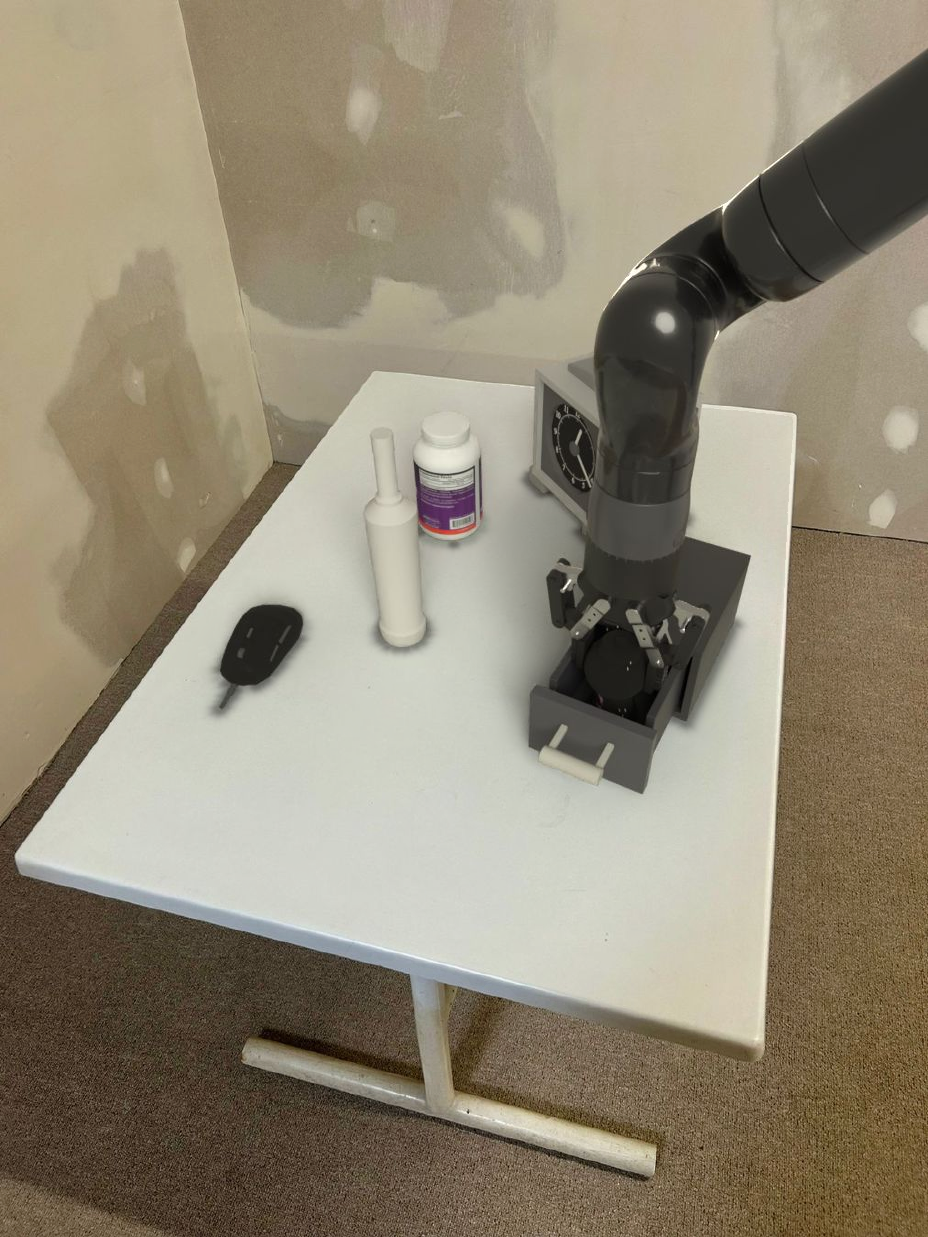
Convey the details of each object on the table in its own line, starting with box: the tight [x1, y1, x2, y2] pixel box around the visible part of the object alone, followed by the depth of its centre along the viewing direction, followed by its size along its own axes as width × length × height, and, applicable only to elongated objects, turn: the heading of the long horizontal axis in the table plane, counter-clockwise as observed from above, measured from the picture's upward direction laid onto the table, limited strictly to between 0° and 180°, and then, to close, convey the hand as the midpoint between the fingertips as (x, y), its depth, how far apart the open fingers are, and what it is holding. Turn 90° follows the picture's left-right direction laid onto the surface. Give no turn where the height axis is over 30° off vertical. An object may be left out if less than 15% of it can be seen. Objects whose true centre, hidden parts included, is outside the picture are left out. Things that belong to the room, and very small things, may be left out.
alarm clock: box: [528, 351, 705, 537], centre depth 105 cm, size 18×13×18 cm
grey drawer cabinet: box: [570, 535, 752, 722], centre depth 88 cm, size 16×13×10 cm
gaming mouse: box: [219, 603, 304, 710], centre depth 91 cm, size 6×15×4 cm, turn 161°
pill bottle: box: [412, 411, 484, 541], centre depth 103 cm, size 8×8×14 cm
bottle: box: [362, 426, 427, 648], centre depth 86 cm, size 5×5×25 cm
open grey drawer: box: [527, 623, 693, 795], centre depth 80 cm, size 19×11×8 cm, turn 151°
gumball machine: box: [584, 626, 650, 722], centre depth 78 cm, size 7×6×10 cm
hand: (616, 673), depth 78 cm, fingers closed on gumball machine, 6 cm apart
